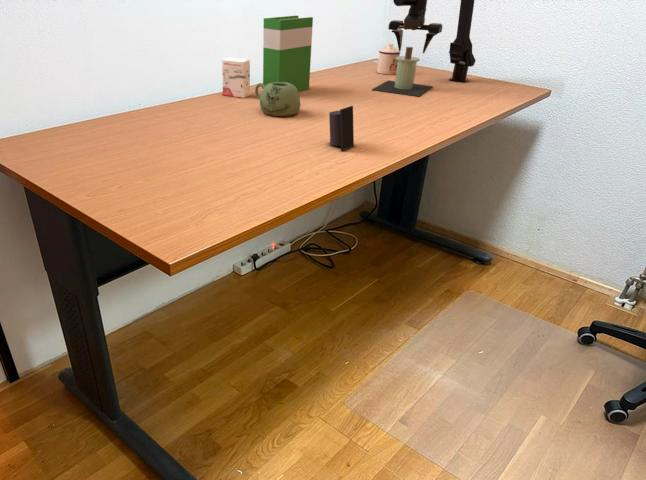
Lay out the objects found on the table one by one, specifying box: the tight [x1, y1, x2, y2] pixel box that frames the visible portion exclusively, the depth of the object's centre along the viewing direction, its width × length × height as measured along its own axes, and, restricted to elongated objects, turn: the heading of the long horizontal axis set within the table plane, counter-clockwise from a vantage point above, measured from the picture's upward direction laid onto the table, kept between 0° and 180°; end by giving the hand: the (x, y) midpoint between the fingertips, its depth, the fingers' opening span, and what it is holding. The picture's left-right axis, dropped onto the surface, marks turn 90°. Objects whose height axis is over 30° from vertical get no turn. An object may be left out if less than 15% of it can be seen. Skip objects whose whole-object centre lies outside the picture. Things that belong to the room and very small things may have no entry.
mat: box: [371, 80, 433, 98], centre depth 193 cm, size 20×18×1 cm
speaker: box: [328, 105, 355, 152], centre depth 130 cm, size 8×6×10 cm
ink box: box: [221, 56, 251, 99], centre depth 173 cm, size 9×5×12 cm, turn 68°
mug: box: [254, 82, 301, 117], centre depth 156 cm, size 16×13×9 cm
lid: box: [396, 46, 420, 63], centre depth 187 cm, size 9×9×4 cm
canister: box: [394, 60, 418, 90], centre depth 191 cm, size 7×7×10 cm
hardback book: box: [262, 15, 314, 92], centre depth 178 cm, size 18×7×24 cm, turn 140°
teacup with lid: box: [376, 43, 401, 76], centre depth 217 cm, size 12×9×12 cm
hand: (411, 51), depth 189 cm, fingers open, 9 cm apart
